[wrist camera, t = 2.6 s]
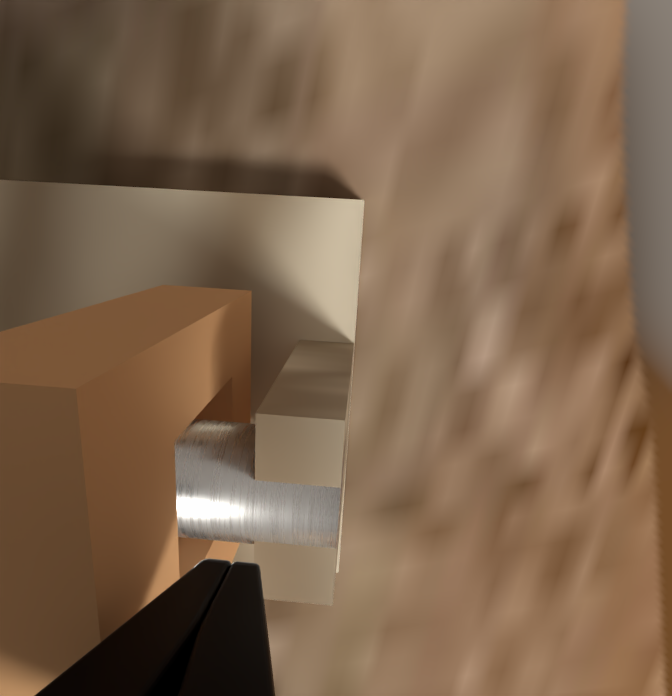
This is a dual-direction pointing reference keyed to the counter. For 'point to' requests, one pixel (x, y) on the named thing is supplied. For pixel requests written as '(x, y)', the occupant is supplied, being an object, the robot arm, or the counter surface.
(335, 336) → the stand
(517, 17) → the counter surface
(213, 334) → the slotted orange block
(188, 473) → the pipe
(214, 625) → the robot arm
